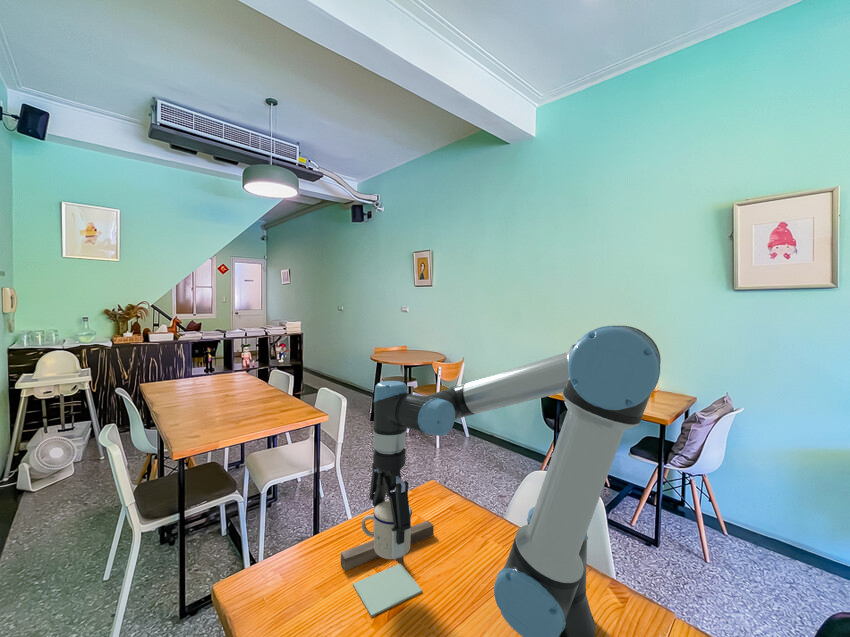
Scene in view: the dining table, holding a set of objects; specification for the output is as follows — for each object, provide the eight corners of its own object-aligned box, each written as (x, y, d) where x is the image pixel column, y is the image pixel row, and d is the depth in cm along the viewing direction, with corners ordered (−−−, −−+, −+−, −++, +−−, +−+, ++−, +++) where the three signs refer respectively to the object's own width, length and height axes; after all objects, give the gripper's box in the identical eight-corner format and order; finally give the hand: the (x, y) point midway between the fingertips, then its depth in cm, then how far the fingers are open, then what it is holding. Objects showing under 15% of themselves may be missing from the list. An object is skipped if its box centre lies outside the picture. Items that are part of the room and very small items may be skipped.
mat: (422, 591, 82) (422, 590, 82) (371, 617, 75) (371, 615, 75) (400, 564, 91) (400, 563, 91) (352, 585, 84) (352, 583, 84)
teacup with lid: (413, 536, 88) (414, 490, 87) (408, 562, 79) (409, 510, 78) (366, 533, 89) (366, 487, 88) (356, 558, 80) (356, 507, 79)
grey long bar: (443, 545, 99) (443, 523, 99) (352, 583, 84) (352, 558, 84) (427, 530, 106) (428, 510, 106) (340, 563, 91) (340, 540, 91)
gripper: (428, 461, 75) (426, 565, 76) (383, 432, 94) (382, 516, 94) (397, 469, 71) (395, 579, 72) (356, 437, 90) (355, 525, 90)
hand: (388, 543), depth 83 cm, fingers closed on teacup with lid, 9 cm apart
